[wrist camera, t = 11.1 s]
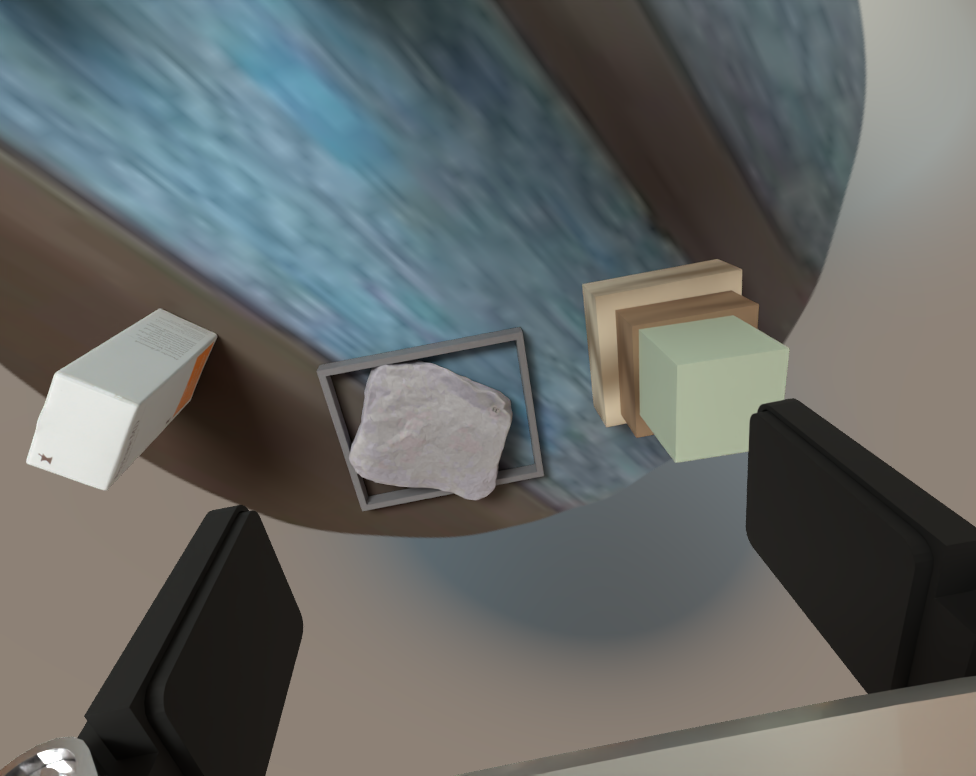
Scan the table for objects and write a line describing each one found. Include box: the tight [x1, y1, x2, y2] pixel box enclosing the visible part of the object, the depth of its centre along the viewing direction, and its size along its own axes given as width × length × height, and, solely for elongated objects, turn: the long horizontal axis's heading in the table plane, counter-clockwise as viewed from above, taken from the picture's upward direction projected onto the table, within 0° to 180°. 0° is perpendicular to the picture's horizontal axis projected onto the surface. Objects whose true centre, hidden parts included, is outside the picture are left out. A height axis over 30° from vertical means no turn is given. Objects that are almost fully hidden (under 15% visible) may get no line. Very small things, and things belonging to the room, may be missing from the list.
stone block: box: [349, 360, 513, 500], centre depth 43 cm, size 12×5×10 cm
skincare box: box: [26, 309, 217, 491], centre depth 34 cm, size 6×4×12 cm
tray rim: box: [317, 327, 544, 511], centre depth 43 cm, size 12×15×1 cm
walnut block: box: [615, 290, 759, 438], centre depth 37 cm, size 8×8×4 cm
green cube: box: [639, 315, 790, 463], centre depth 33 cm, size 6×6×6 cm
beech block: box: [582, 259, 742, 427], centre depth 41 cm, size 10×10×4 cm
